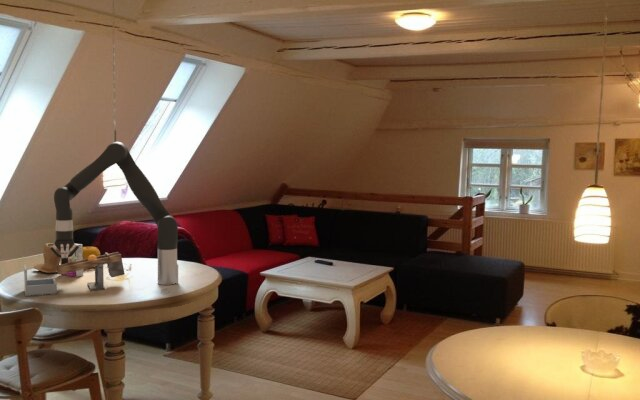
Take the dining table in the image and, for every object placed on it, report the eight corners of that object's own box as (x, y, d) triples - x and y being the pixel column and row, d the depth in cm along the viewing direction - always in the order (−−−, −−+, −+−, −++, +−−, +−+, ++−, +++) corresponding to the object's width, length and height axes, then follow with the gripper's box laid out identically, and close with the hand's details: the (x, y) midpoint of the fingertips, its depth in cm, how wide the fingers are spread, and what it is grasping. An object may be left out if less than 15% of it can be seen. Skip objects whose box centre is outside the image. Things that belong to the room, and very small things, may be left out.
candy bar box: (59, 275, 300) (59, 243, 299) (67, 273, 305) (67, 242, 303) (75, 277, 295) (75, 245, 294) (83, 275, 300) (83, 244, 298)
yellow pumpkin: (70, 267, 320) (70, 246, 319) (93, 264, 329) (93, 243, 328) (82, 270, 311) (82, 249, 310) (105, 267, 321) (104, 246, 320)
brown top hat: (68, 272, 307) (67, 244, 306) (45, 275, 298) (44, 246, 297) (55, 267, 317) (54, 240, 316) (32, 271, 308) (32, 242, 307)
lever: (119, 268, 291) (115, 247, 289) (124, 274, 279) (120, 252, 277) (59, 283, 278) (54, 260, 276) (61, 289, 266) (57, 266, 264)
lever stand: (100, 283, 284) (100, 259, 282) (104, 289, 272) (104, 264, 271) (87, 284, 281) (87, 260, 280) (91, 290, 269) (90, 265, 268)
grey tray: (54, 287, 274) (54, 262, 273) (56, 293, 263) (56, 267, 262) (24, 290, 268) (23, 264, 267) (25, 296, 257) (24, 269, 255)
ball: (91, 252, 276) (85, 259, 275) (92, 253, 272) (86, 260, 271) (98, 257, 278) (92, 264, 277) (99, 259, 274) (93, 265, 273)
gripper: (78, 227, 281) (78, 263, 283) (48, 228, 275) (48, 265, 277) (80, 229, 275) (80, 266, 276) (49, 231, 269) (49, 268, 270)
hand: (64, 265), depth 276 cm, fingers closed
